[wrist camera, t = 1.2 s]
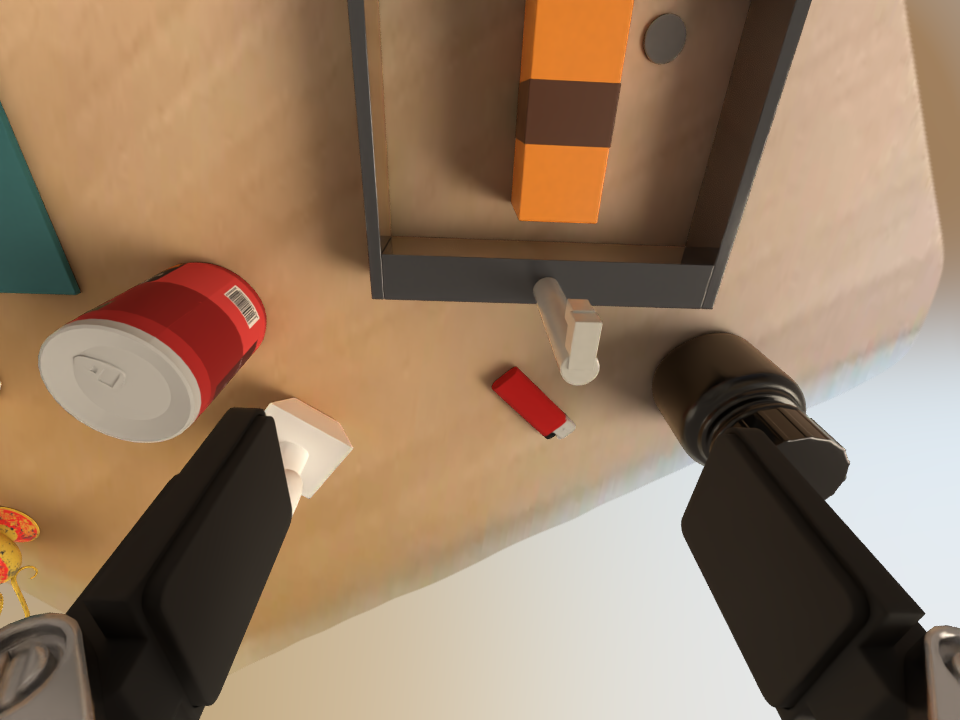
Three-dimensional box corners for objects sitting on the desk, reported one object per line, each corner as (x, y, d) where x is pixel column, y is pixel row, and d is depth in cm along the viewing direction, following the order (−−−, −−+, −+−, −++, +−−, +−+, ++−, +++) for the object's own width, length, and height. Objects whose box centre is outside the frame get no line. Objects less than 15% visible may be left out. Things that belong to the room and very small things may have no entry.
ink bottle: (662, 435, 41) (729, 548, 31) (630, 362, 37) (694, 463, 27) (771, 391, 39) (882, 496, 28) (749, 309, 35) (868, 396, 25)
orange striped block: (525, -1, 25) (538, -26, 20) (606, 3, 25) (638, -20, 21) (510, 203, 31) (518, 221, 26) (577, 205, 31) (597, 224, 26)
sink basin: (358, -92, 23) (225, -329, 11) (782, -65, 24) (1132, -252, 11) (383, 276, 33) (330, 383, 20) (684, 286, 34) (814, 394, 21)
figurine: (243, 439, 40) (135, 600, 27) (293, 368, 37) (197, 514, 24) (315, 475, 43) (248, 640, 29) (369, 412, 39) (319, 567, 26)
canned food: (168, 239, 31) (37, 299, 22) (282, 288, 33) (208, 362, 24) (152, 328, 35) (32, 413, 25) (257, 368, 37) (183, 461, 27)
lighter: (518, 371, 36) (577, 429, 39) (517, 364, 37) (574, 420, 40) (492, 392, 37) (552, 446, 40) (491, 383, 38) (550, 437, 41)
